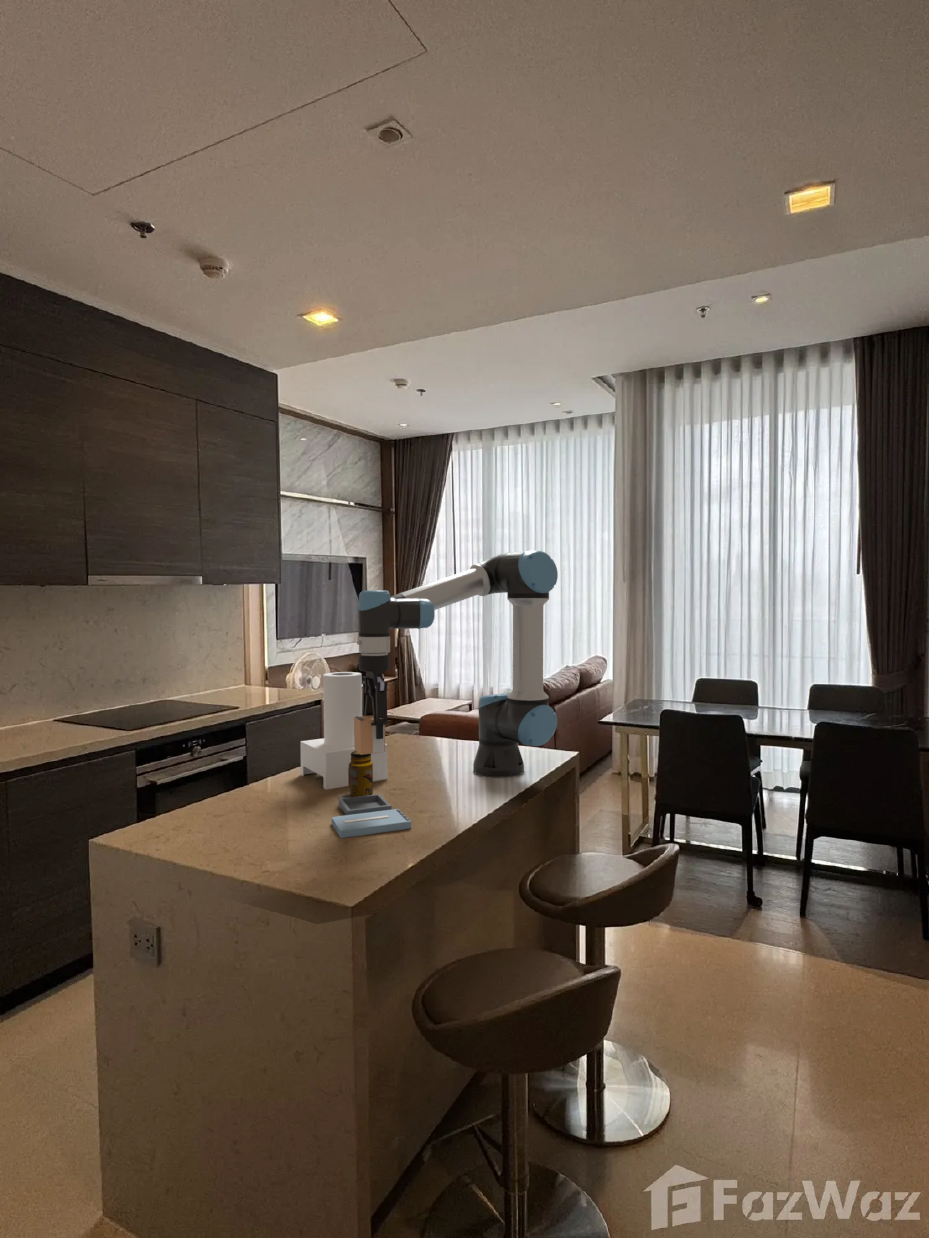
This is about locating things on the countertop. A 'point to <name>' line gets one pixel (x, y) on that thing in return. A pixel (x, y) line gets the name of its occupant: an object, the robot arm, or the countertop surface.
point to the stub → (364, 734)
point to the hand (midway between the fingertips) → (374, 748)
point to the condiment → (360, 775)
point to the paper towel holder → (339, 733)
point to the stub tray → (363, 804)
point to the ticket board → (370, 823)
